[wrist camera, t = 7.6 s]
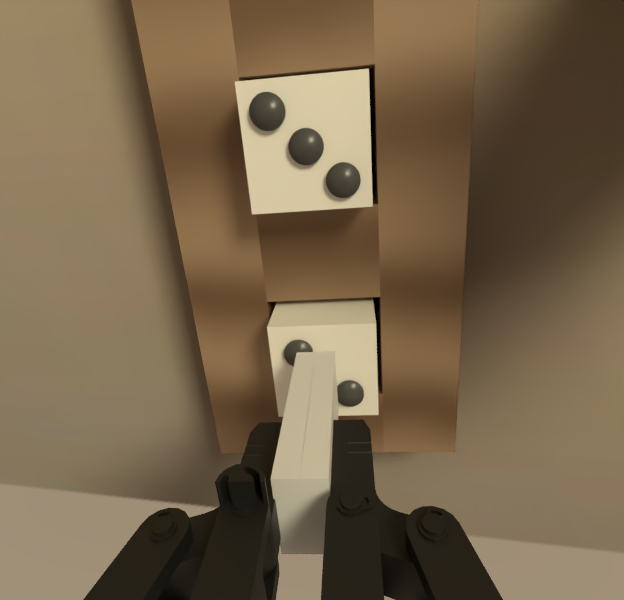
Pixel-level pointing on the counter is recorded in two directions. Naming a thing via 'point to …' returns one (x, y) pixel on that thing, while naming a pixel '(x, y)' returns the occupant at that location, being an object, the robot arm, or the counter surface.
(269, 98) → the button three
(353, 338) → the button two
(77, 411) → the counter surface
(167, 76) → the button panel
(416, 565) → the robot arm
